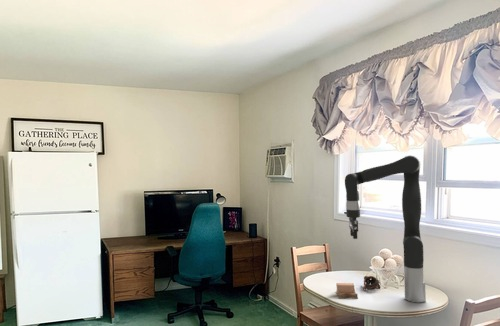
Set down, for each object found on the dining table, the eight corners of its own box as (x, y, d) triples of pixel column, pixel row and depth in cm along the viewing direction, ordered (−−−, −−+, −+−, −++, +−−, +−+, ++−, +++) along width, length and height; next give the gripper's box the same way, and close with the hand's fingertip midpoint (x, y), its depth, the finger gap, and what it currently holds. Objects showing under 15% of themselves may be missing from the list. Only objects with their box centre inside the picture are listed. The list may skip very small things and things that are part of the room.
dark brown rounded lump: (385, 290, 202) (382, 280, 199) (372, 299, 199) (368, 289, 196) (371, 279, 212) (367, 269, 209) (358, 288, 210) (355, 277, 207)
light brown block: (353, 292, 196) (353, 283, 196) (354, 294, 192) (354, 285, 192) (336, 292, 197) (336, 283, 197) (337, 294, 193) (337, 285, 193)
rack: (354, 292, 199) (354, 288, 199) (357, 298, 189) (357, 294, 189) (336, 291, 200) (336, 288, 200) (339, 298, 190) (339, 294, 190)
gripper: (362, 210, 194) (363, 239, 194) (357, 207, 209) (358, 235, 208) (348, 210, 195) (349, 239, 195) (344, 207, 209) (345, 235, 209)
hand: (353, 237), depth 202 cm, fingers open, 8 cm apart
